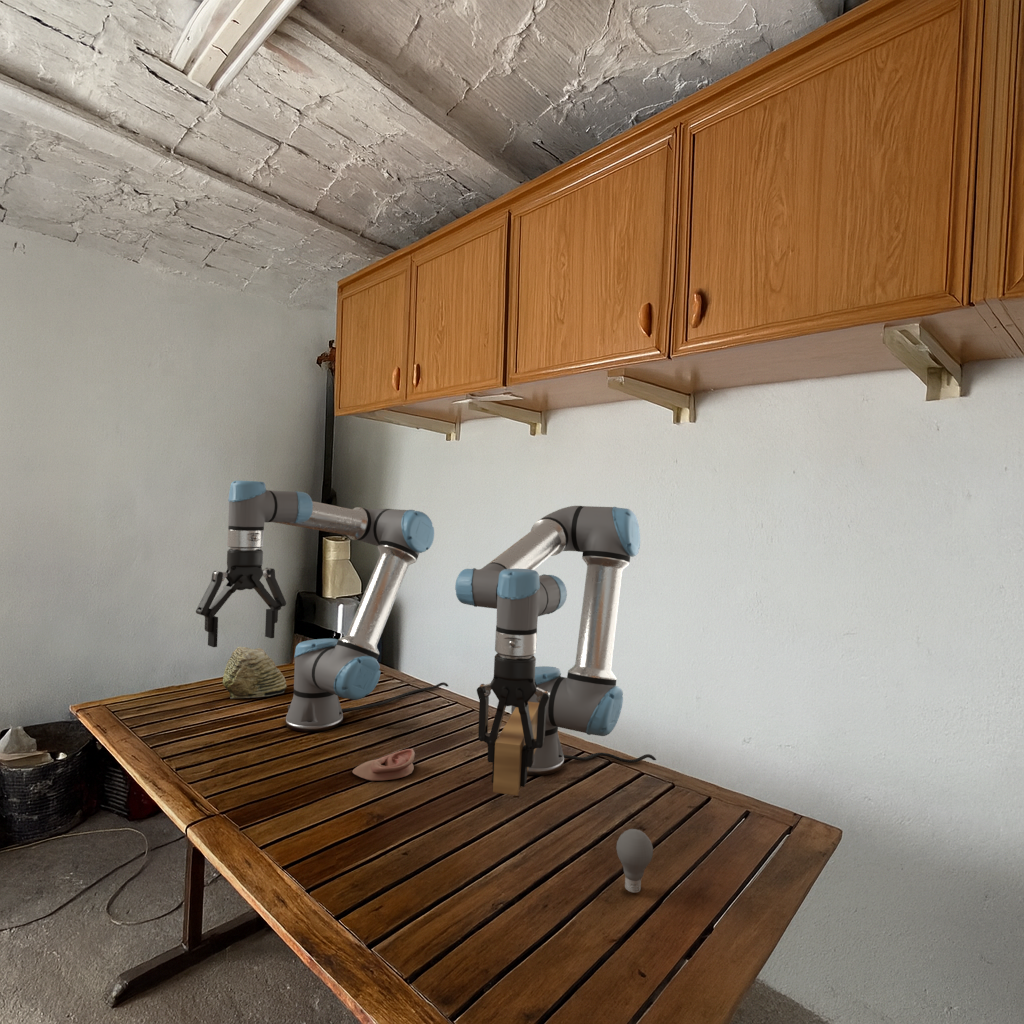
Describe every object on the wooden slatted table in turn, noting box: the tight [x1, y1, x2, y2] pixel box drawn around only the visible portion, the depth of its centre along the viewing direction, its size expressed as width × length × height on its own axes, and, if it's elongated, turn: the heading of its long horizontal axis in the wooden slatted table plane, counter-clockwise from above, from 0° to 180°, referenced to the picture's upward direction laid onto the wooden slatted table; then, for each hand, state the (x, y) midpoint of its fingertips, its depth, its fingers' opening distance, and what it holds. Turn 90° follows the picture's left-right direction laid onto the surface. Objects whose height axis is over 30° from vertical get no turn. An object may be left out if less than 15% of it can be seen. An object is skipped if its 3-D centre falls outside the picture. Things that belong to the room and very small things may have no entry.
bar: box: [492, 702, 539, 796], centre depth 124 cm, size 25×4×9 cm, turn 169°
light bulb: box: [615, 828, 654, 894], centre depth 106 cm, size 6×6×10 cm
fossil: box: [222, 646, 288, 699], centre depth 198 cm, size 9×18×15 cm, turn 132°
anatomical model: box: [352, 748, 416, 782], centre depth 147 cm, size 13×4×12 cm
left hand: (242, 641), depth 144 cm, fingers open, 13 cm apart
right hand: (509, 781), depth 116 cm, fingers closed on bar, 4 cm apart
